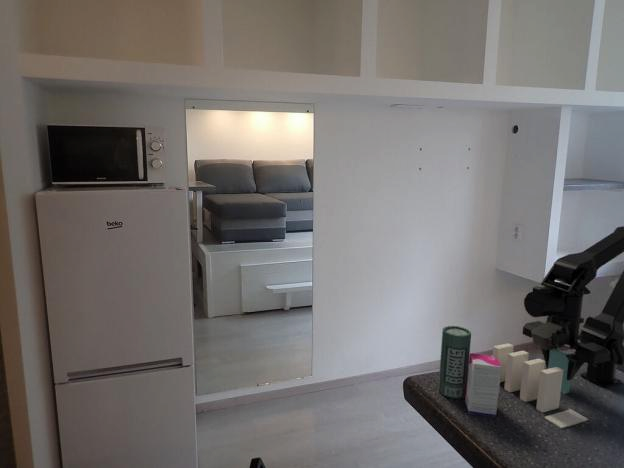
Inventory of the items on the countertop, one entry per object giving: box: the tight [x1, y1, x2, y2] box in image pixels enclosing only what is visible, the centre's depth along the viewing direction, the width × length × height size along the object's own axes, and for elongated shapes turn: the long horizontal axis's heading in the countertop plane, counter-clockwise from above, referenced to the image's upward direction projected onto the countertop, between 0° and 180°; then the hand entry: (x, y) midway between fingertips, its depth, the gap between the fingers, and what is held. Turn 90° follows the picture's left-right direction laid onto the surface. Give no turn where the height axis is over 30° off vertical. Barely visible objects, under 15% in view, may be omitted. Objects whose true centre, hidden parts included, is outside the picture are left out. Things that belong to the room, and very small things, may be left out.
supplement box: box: [464, 352, 501, 418], centre depth 97 cm, size 6×6×12 cm
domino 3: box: [519, 358, 546, 403], centre depth 102 cm, size 2×5×9 cm, turn 113°
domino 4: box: [535, 367, 563, 413], centre depth 98 cm, size 2×5×9 cm, turn 113°
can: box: [438, 325, 472, 400], centre depth 104 cm, size 6×6×15 cm
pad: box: [544, 408, 589, 430], centre depth 94 cm, size 8×4×1 cm, turn 113°
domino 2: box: [504, 350, 530, 393], centre depth 106 cm, size 2×5×9 cm, turn 113°
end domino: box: [548, 348, 572, 395], centre depth 107 cm, size 2×5×9 cm, turn 23°
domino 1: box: [491, 343, 515, 383], centre depth 110 cm, size 2×5×9 cm, turn 113°
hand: (559, 374), depth 107 cm, fingers closed on end domino, 5 cm apart
